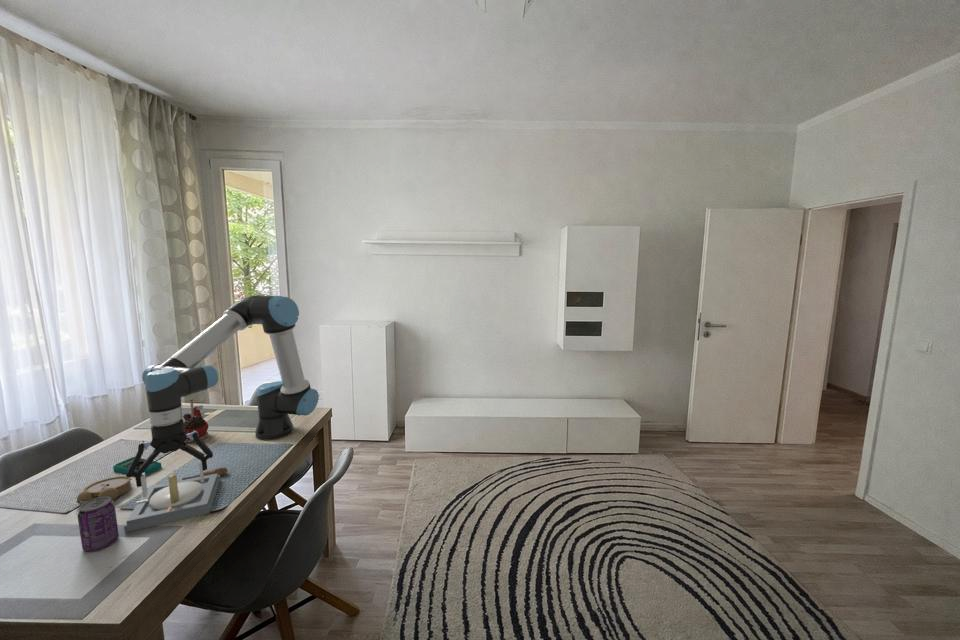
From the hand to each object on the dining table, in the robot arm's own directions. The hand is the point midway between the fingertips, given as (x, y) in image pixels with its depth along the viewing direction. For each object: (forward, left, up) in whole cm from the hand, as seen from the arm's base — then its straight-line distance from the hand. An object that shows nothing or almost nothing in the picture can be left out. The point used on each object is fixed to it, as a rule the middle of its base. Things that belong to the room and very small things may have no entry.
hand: (174, 487), depth 116 cm
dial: (+1, -5, -6) cm, 8 cm away
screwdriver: (-4, -19, -8) cm, 21 cm away
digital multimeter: (+20, -37, -9) cm, 43 cm away
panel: (+1, -5, -8) cm, 10 cm away
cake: (+6, -58, -8) cm, 59 cm away
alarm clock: (+23, -20, -9) cm, 32 cm away
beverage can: (+15, +8, -8) cm, 19 cm away
